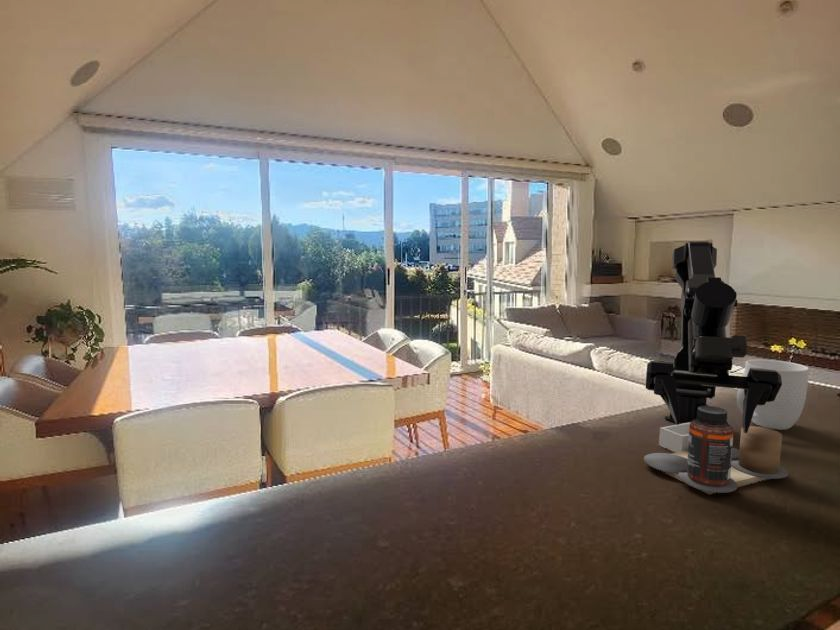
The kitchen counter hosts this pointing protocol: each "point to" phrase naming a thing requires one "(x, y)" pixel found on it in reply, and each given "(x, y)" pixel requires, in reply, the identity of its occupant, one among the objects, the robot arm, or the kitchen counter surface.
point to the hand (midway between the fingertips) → (711, 427)
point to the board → (732, 461)
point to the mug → (779, 394)
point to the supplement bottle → (710, 447)
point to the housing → (675, 437)
